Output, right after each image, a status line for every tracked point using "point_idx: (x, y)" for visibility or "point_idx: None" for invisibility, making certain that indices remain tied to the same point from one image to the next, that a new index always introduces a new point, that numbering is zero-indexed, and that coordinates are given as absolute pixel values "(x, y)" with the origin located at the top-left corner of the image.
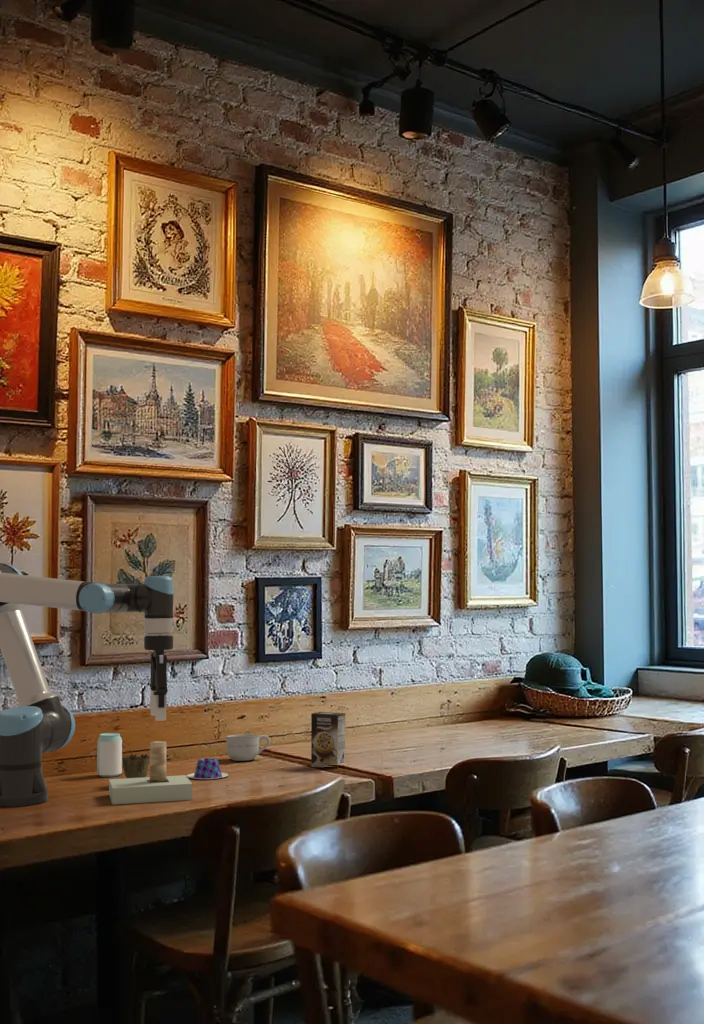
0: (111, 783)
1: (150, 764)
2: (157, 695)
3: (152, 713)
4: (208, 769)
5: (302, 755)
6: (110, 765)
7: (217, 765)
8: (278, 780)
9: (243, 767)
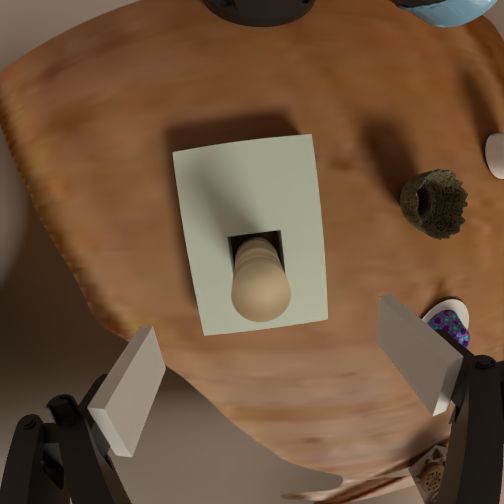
0: (244, 142)
1: (248, 250)
2: (92, 414)
3: (382, 308)
4: None
5: None
6: (497, 154)
7: None
8: (360, 433)
9: None
